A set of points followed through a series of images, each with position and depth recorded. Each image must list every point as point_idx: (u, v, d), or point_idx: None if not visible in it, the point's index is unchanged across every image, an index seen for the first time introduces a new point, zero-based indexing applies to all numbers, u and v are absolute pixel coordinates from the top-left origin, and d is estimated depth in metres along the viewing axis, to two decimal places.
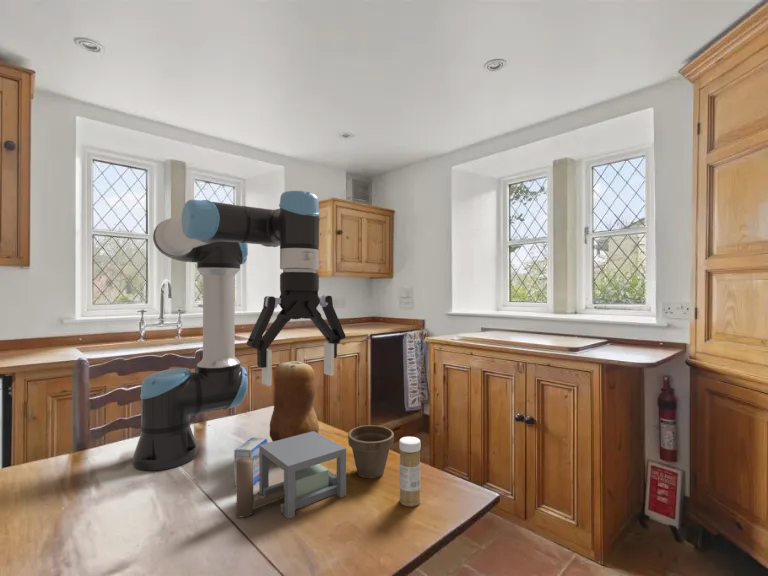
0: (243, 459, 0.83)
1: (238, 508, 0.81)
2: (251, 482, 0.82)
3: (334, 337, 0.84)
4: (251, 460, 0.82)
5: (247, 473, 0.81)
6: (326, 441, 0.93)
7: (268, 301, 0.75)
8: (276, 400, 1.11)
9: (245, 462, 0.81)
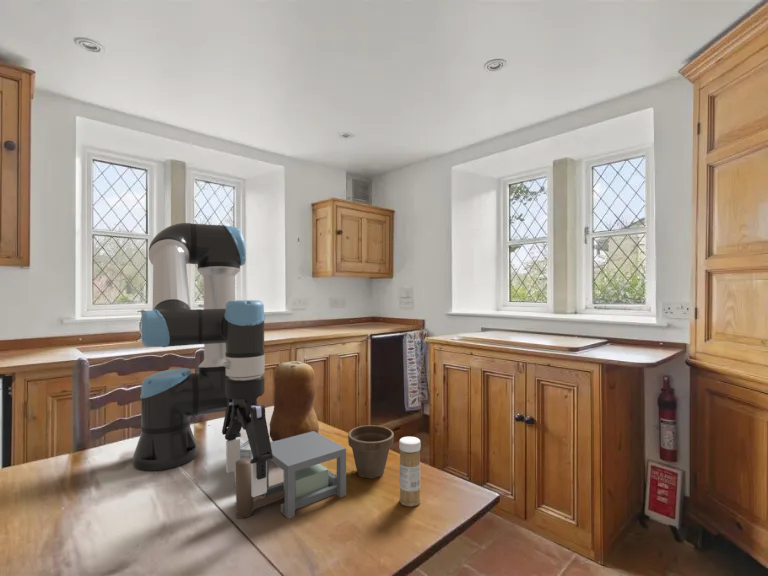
0: (242, 460, 0.83)
1: (238, 509, 0.81)
2: (250, 483, 0.81)
3: (254, 455, 0.75)
4: None
5: (247, 474, 0.81)
6: (326, 441, 0.93)
7: None
8: (276, 400, 1.11)
9: (244, 463, 0.81)
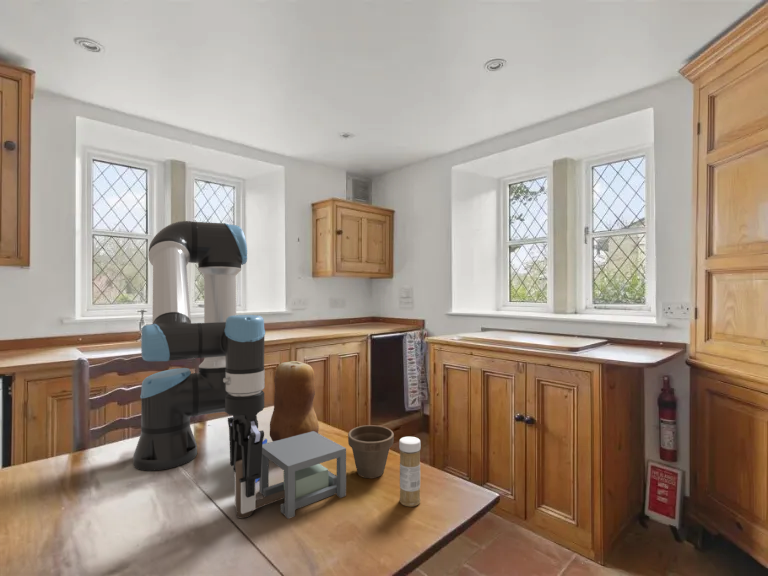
0: None
1: (238, 509, 0.81)
2: None
3: (244, 474, 0.79)
4: None
5: None
6: (326, 441, 0.93)
7: None
8: (276, 400, 1.11)
9: None
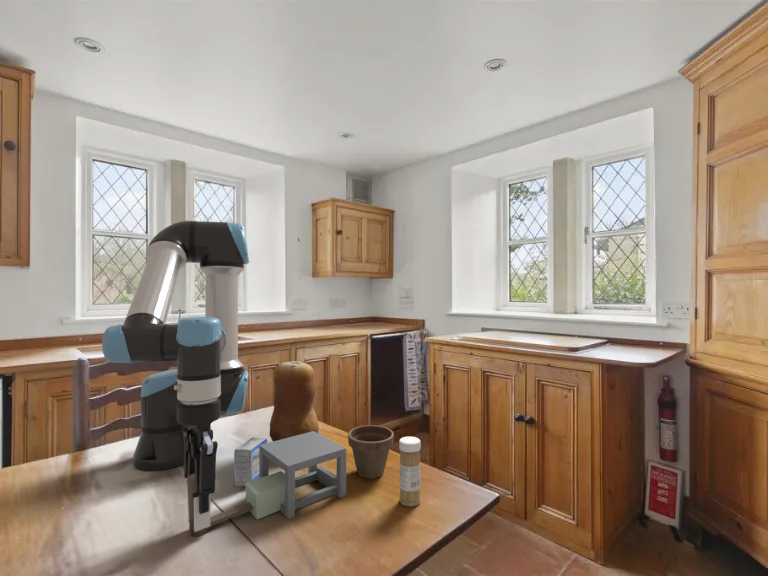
0: None
1: (190, 527, 0.75)
2: None
3: (196, 489, 0.73)
4: None
5: None
6: (326, 441, 0.93)
7: None
8: (276, 400, 1.11)
9: None
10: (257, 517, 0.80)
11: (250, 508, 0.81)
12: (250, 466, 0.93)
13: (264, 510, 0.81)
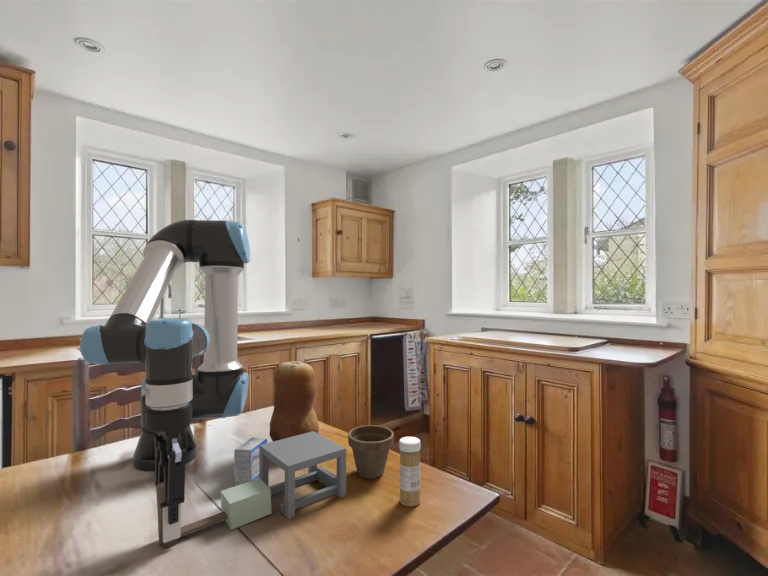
0: None
1: (159, 538, 0.72)
2: None
3: (165, 499, 0.70)
4: None
5: None
6: (326, 441, 0.93)
7: None
8: (276, 400, 1.11)
9: None
10: (231, 527, 0.77)
11: (224, 518, 0.78)
12: (250, 466, 0.93)
13: (239, 520, 0.78)
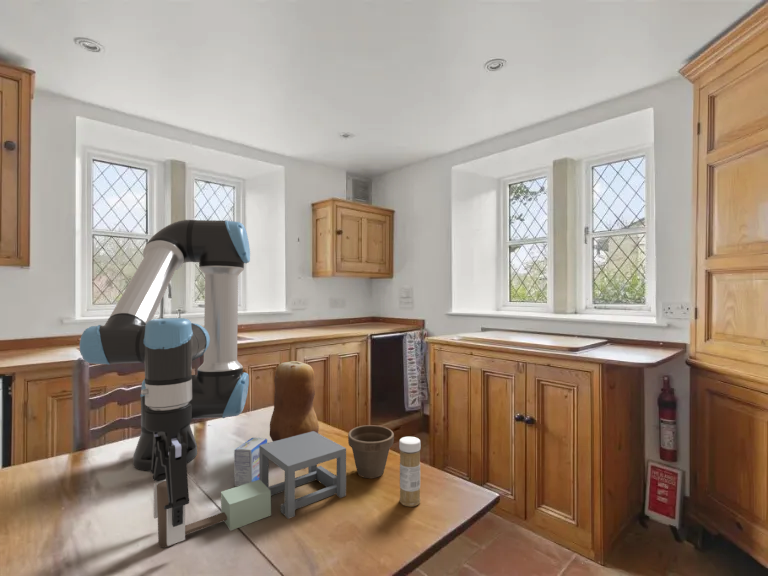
0: None
1: (159, 537, 0.72)
2: None
3: (169, 500, 0.68)
4: None
5: None
6: (326, 441, 0.93)
7: None
8: (276, 400, 1.11)
9: (165, 486, 0.72)
10: (231, 528, 0.77)
11: (224, 518, 0.78)
12: (250, 466, 0.93)
13: (238, 521, 0.78)
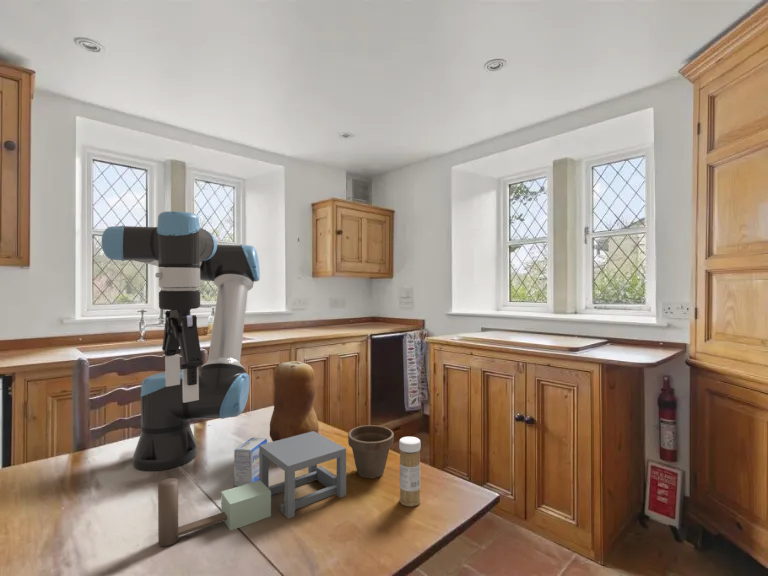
0: (167, 480, 0.74)
1: (159, 536, 0.72)
2: (174, 507, 0.72)
3: (184, 362, 0.76)
4: (175, 482, 0.73)
5: (169, 497, 0.72)
6: (326, 441, 0.93)
7: None
8: (276, 400, 1.11)
9: (167, 484, 0.72)
10: (231, 528, 0.77)
11: (224, 518, 0.78)
12: (250, 466, 0.93)
13: (238, 521, 0.78)
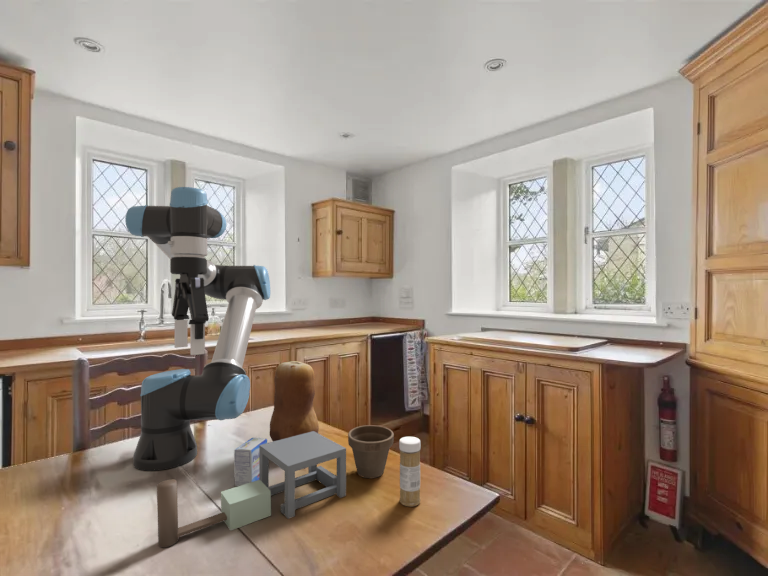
0: (166, 482, 0.73)
1: (159, 537, 0.72)
2: (174, 508, 0.72)
3: (192, 318, 0.85)
4: (174, 483, 0.73)
5: (168, 498, 0.72)
6: (326, 441, 0.93)
7: None
8: (276, 400, 1.11)
9: (165, 486, 0.72)
10: (231, 528, 0.77)
11: (224, 518, 0.78)
12: (250, 466, 0.93)
13: (238, 521, 0.78)
